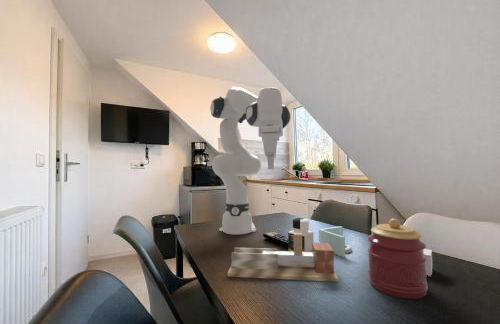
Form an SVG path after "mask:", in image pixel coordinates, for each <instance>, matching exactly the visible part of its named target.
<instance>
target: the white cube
mask: <svg viewBox="0 0 500 324" xmlns="http://www.w3.org/2000/svg"><path fill="white" fill-rule="evenodd" d="M423 251H424V256H425V257H426V276H427V275H428V277H432V276H431V275H433V270H432V269H433V250H432V249H429V248H428V249H427V248H425V249H424V250H423Z"/></svg>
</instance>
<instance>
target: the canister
mask: <svg viewBox="0 0 500 324" xmlns="http://www.w3.org/2000/svg"><path fill="white" fill-rule="evenodd" d="M370 232H371V234H370V235H368V236H367V240H368V242H369V247H368V249H367V251H368V278H369V282H370V284H371V285H372V287H374V288H375V289H377V290H378V291H380V292H382V293H385V294H387V295H389V296H392V297H397V298H401V299H411V300H413V299H414V300H415V299H421V298H424V297H425V296H426V295H427V291H428V282H427V275H426V257H425V256H424V251H423V250H424V249H427V248H426V247H427V245H426V243H425V242H423V241H422V240H421V238H422V234H421V233H420V232H418V231H416V230H415V229H414V228H413V227H409V226H406V225H403V224H402V225H401V222H400V220H399V219H398V218H391V219H389V221H388V223H378V224H377V225H376V226H373V227H371V228H370Z"/></svg>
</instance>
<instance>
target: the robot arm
mask: <svg viewBox="0 0 500 324" xmlns="http://www.w3.org/2000/svg"><path fill="white" fill-rule="evenodd" d="M282 99H283V97H282V93H281V90H280V89H279V88H277V87H271V86H270V87H268V86H266V87H262V88H260V89H259V91H258V95H255V94H253V93H251V92H249V91H248V90H246V89H245V88H243V87H238V86H237V87H236V86H233V87H230V88H229V89H228V90H227V92H226V95H225V97H222V96H218V97H217V98H214V99H213V100H212V101H211V103H210V107H209V110H210V114H211V116H212V117H213V118H215V119H221V122H220V124H219V136H220V141H221V146H222V149H223V151H224V152H225V154H219V155H218V154H217V155H216V156H214V158H213V160H212V163H211V167H212V171H213V172H214V174H215V175H216V176H218V177H219V178H220V179H221V180H222V182H223V185H224V186H225V193H226V194H225V195H226V197H225V198H226V203H225V212H224V213H223V214H222V224H221V225H222V227H220V228H219V231H220V232H222V231H223V232H222V233H224V234H226V235H247V234H250V233H255V232H257V228H256V226H255V224H254V221H253V219H252V216H253V215H252V214H251V213H250V203H249V189H248V187H247V185H246V184H244V183H243V182H241V181H239V178H238V176H239V177H240V176H244V177H245V176H247V177H248V176H252V175H253V176H254V175H257V174H258V173H259V172H260V171H261V167H262V164H261V159H260V158H259V157H258V156H256V154H253V153H252V152H251V151H249V149H248V148H247V147H246V146H245V144H244V142H243V139H242V136H241V133H240V129H239V126H238V125H239V124H242V123H243V122H244V121H245V120H246V122H247V123H248V125H249V126H252V127H255V128H258V137H260V138H261V141H262V145H263V152H264V155H265V156H266V157H267V160H266V161H267V169H268V170H274V166H275V165H274V163H275V158H276V157H277V146H278V142H279V141H280V138H281V137H283V136H284V135H283V134H284V128H286V127H287V126H288V125H289V123H290V121H291V112H290V110H289V108H288V107H287V106H286V104H283V100H282ZM219 231H218V232H219Z"/></svg>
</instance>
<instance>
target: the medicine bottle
mask: <svg viewBox="0 0 500 324" xmlns="http://www.w3.org/2000/svg"><path fill="white" fill-rule="evenodd" d="M309 222H310V221H309V219H308V218H305V217H304V218H303V217H297V218H296V217H295V218H293V219H292V230H289V231H288V232H287V243H288V245H287V247H288V250H287V251H289V252H294V233H302V252H312V243H315V241H314V231H313V230H310V229H309V228H310V224H309Z"/></svg>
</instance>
